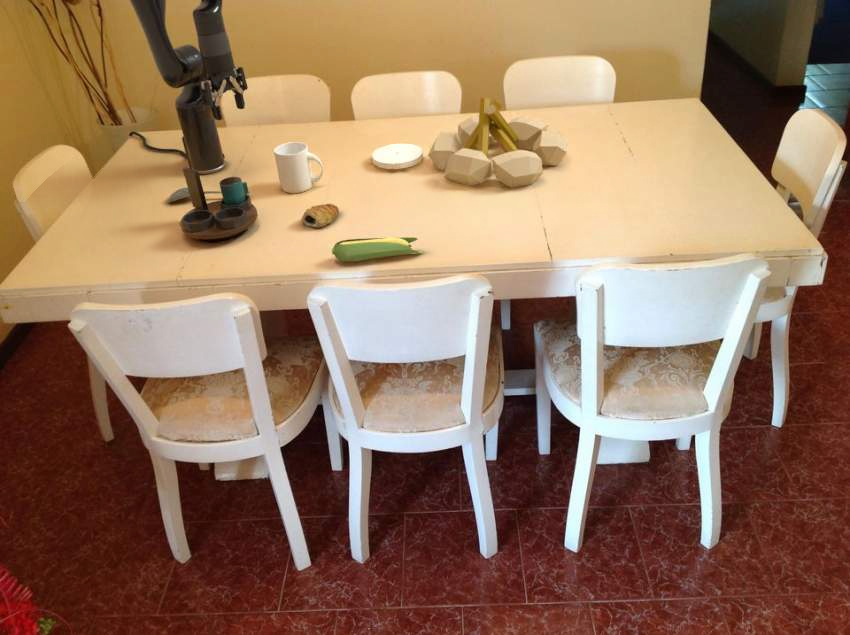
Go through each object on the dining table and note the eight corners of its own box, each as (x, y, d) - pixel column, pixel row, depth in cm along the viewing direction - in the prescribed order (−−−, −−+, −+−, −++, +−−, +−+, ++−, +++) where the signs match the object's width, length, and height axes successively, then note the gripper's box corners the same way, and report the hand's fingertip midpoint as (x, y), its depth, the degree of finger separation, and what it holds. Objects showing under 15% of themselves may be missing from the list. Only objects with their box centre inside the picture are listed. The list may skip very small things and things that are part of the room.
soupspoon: (175, 195, 195) (165, 208, 190) (171, 184, 193) (161, 196, 188) (253, 191, 192) (246, 204, 187) (250, 180, 190) (242, 192, 185)
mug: (321, 194, 188) (315, 154, 182) (277, 194, 190) (269, 155, 184) (330, 179, 195) (324, 141, 189) (287, 180, 197) (279, 142, 191)
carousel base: (182, 236, 174) (180, 229, 173) (220, 213, 183) (218, 206, 182) (223, 247, 169) (221, 239, 167) (260, 222, 178) (258, 215, 176)
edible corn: (334, 255, 162) (331, 237, 159) (424, 247, 162) (423, 229, 159) (333, 267, 157) (330, 249, 155) (426, 259, 158) (424, 240, 155)
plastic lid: (413, 174, 195) (412, 165, 193) (365, 170, 199) (363, 161, 197) (430, 153, 205) (429, 145, 204) (383, 150, 209) (382, 142, 208)
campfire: (479, 131, 216) (477, 72, 207) (584, 150, 199) (588, 88, 189) (408, 175, 194) (402, 112, 184) (520, 202, 177) (520, 134, 167)
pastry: (325, 208, 181) (323, 194, 179) (346, 214, 178) (344, 200, 176) (300, 224, 175) (297, 210, 173) (321, 231, 172) (318, 216, 169)
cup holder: (273, 215, 175) (264, 172, 168) (209, 247, 164) (197, 201, 158) (227, 196, 186) (217, 154, 179) (164, 224, 175) (151, 181, 169)
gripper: (224, 42, 189) (237, 103, 199) (184, 57, 180) (200, 121, 189) (246, 44, 186) (258, 106, 195) (206, 59, 176) (221, 125, 185)
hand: (230, 114), depth 192 cm, fingers open, 8 cm apart
